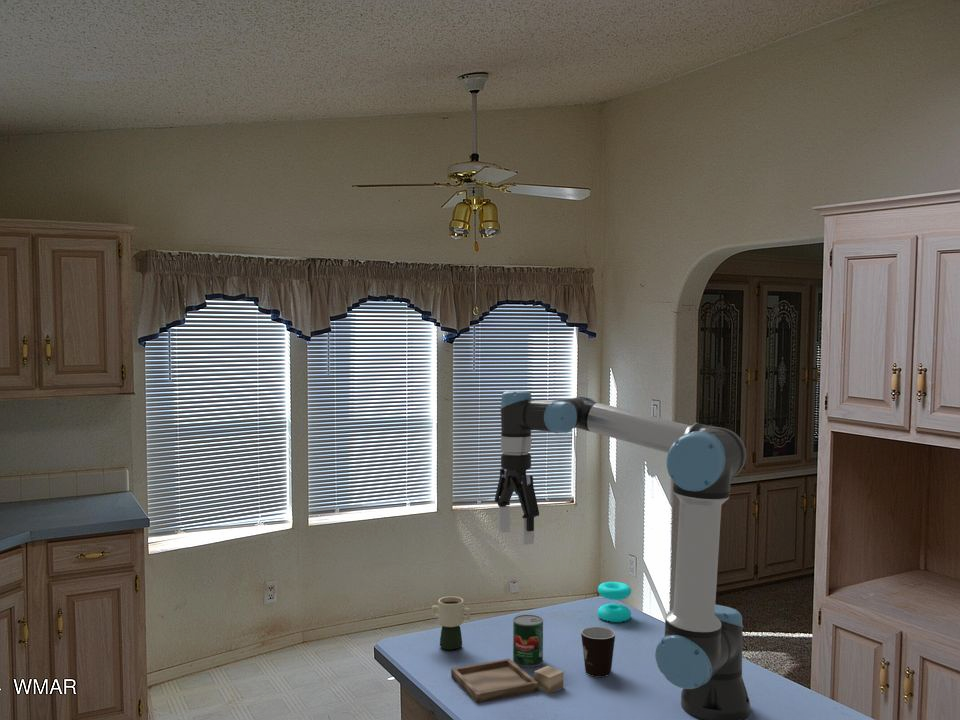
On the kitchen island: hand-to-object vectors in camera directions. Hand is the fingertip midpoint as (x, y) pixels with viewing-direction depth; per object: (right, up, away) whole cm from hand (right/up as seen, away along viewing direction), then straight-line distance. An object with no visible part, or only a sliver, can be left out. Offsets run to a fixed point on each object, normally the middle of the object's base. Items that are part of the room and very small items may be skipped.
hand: (516, 537), depth 200 cm
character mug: (-17, -35, +19) cm, 43 cm away
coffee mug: (+21, -35, +4) cm, 41 cm away
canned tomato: (+4, -35, +10) cm, 36 cm away
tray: (-6, -35, -4) cm, 35 cm away
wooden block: (+8, -35, -6) cm, 36 cm away
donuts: (+32, -34, +43) cm, 63 cm away
